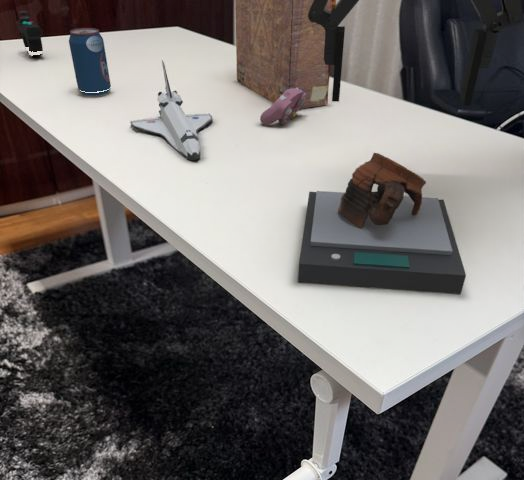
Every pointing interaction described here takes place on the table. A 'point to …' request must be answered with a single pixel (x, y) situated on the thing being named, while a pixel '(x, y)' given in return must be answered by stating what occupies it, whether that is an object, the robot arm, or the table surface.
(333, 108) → the table surface
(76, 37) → the soda can
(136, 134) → the table surface
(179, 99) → the space shuttle model
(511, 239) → the table surface
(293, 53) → the book
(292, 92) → the video game controller
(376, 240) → the scale
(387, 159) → the brown hollow arched part
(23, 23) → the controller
